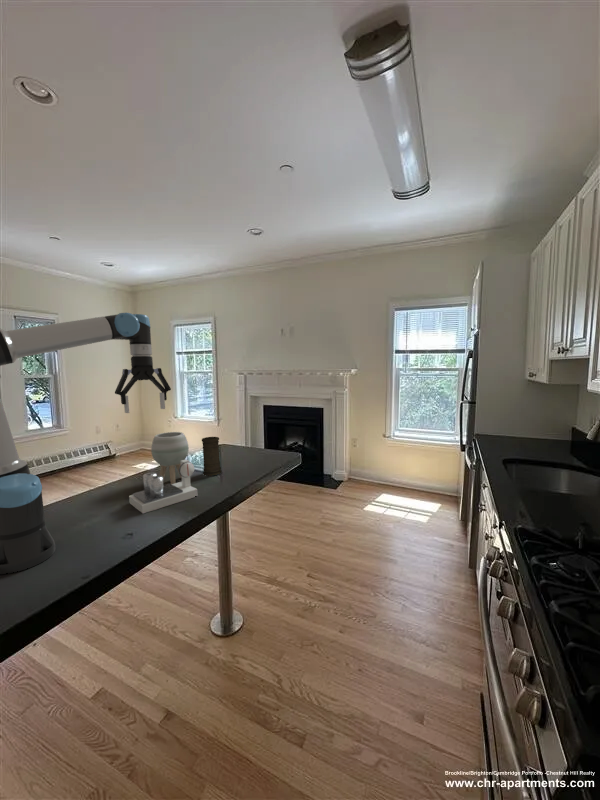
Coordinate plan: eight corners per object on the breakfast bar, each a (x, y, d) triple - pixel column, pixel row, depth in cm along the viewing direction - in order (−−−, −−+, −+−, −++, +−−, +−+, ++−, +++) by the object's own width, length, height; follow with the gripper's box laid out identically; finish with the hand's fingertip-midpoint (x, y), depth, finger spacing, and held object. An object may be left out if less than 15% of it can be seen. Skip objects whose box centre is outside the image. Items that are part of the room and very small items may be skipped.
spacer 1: (142, 491, 137) (141, 474, 136) (154, 488, 140) (153, 471, 139) (147, 494, 133) (145, 477, 132) (159, 491, 137) (158, 474, 136)
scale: (142, 513, 125) (139, 476, 124) (129, 503, 135) (126, 468, 133) (202, 494, 142) (200, 462, 140) (186, 486, 152) (184, 456, 150)
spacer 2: (148, 495, 132) (146, 477, 132) (160, 491, 136) (159, 474, 135) (153, 498, 129) (151, 480, 128) (166, 494, 132) (165, 477, 132)
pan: (144, 503, 126) (144, 501, 126) (133, 495, 135) (132, 493, 135) (182, 492, 137) (182, 490, 137) (169, 485, 145) (169, 483, 145)
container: (219, 476, 165) (217, 440, 163) (200, 476, 165) (198, 440, 163) (223, 470, 174) (221, 436, 172) (206, 470, 174) (204, 436, 172)
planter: (175, 489, 149) (171, 439, 147) (145, 485, 155) (142, 437, 152) (197, 477, 165) (194, 431, 162) (170, 474, 170) (167, 430, 167)
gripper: (108, 355, 119) (113, 415, 121) (177, 355, 136) (180, 407, 138) (102, 356, 124) (107, 413, 126) (169, 356, 142) (172, 406, 144)
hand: (145, 410), depth 132 cm, fingers open, 13 cm apart
